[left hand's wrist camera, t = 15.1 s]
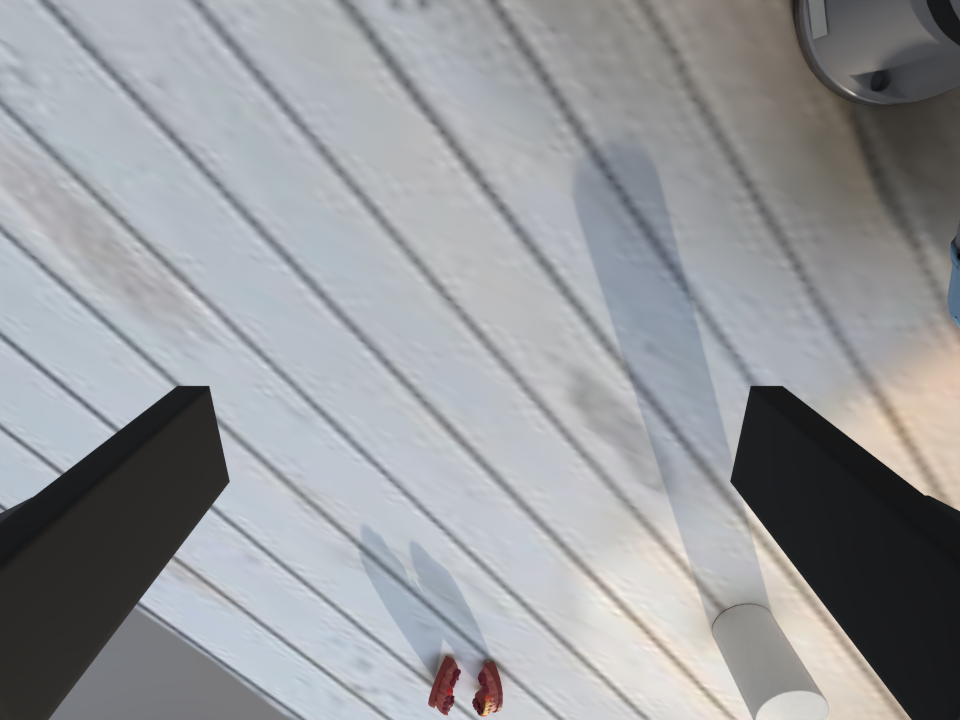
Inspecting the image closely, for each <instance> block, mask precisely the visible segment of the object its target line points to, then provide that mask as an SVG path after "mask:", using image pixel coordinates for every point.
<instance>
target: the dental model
mask: <svg viewBox="0 0 960 720" xmlns="http://www.w3.org/2000/svg"><path fill="white" fill-rule="evenodd" d="M460 673H461V670H460V669H458V667H457V664H456V663H455V661H454V659H452V658H450V657H448V656H446V657H445V659H444V661H443V663H442V665H441V667H440V670H439V672H438V674H437V677H436V679H435V682H434V684H433V687H432V690H431V693H430V697H429V702H428V704H429V706H431V707H433V708H434V707H435V705H436V706H437V708H438V710H439V711H440V712H441V713H443V714H444V715H448V712H449V710H450V707H452V706H453V704H454V698H455V697H454V696H452V695H453V689H452V688H454V686H455V684H456V680H457V681H458V680H459V678H458V677H459V674H460ZM478 680H479V683H480V685H481V686H483V687H482V688H481V689H480V690H479V691H478V692H477V693H476V694H475V698H474V699H473V701H472V704H473V707H474V709H475V710H477V713H478V715H480V716H486V715H487V714H489V713H491V712H494V713H495V712H498V711H499V710H501V708H502V703H503V693H502V686H501V681H500V677H499V674H498V671H497V668H496V666H495V663H494V662H491V663H487V664H486V665H484V667H483V669H482V670H481V672H480V673H479V676H478Z"/></svg>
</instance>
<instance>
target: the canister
mask: <svg viewBox="0 0 960 720" xmlns="http://www.w3.org/2000/svg"><path fill="white" fill-rule="evenodd" d="M712 634H713V637H714V639H715V641H716V643H717V645H718V648H719V650H720V652H721V654H722V656H723V658H724V660H725V662H726V664H727V666H728V668H729V670H730V672H731V674H732V677H733V679H734V681H735V683H736V685H737V687H738V689H739V691H740V693H741V695H742V697H743V699H744V701H745V703H746V706H747V708H748V710H749V712H750V714H751V716H752V718H753V720H826V718H827V716H828V713H829V706H828V703H827V701H826V699H825V698H824V696H823V694H822V693H821V691H820V690H819V688H818V687H817V685H816V683H815V682H814V680H813V679H812V677H811V676H810V674H809V672H808V671H807V669H806V668H805V666H804V664H803V663H802V661H801V660H800V658H799V657H798V655H797V653H796V652H795V650H794V649H793V647H792V645H791V644H790V642H789V641H788V639H787V638H786V636H785V634H784V633H783V631H782V630H781V628H780V627H779V625H778V623H777V622H776V620H775V619H774V617H773V615H772V614H771V613H770V612H769V611H768V610H767V609H766V608H764V607H762V606H759V605H754V604H743V605H738V606H734V607H732V608H730V609H728V610H726V611H724V612H723V613H722V614H720V615H719V616H718V618H717V619H716V620H715V622H714V624H713V628H712Z"/></svg>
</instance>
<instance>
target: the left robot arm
mask: <svg viewBox="0 0 960 720" xmlns="http://www.w3.org/2000/svg"><path fill="white" fill-rule="evenodd" d="M795 24H796V31H797V36H798V40H799V44H800V47H801V50H802V52H803V55H804V57H805V60H806V61H807V63H808V65H809V67H810V69H811V70H812V71H813V73H814V74H815V76H816V77H817V78H818V79H819V80H820V81H821V82H822V83H823V84H824V85H825V86H826V87H827V88H828V89H830V90H831V91H832V92H834V93H836V94H837V95H839V96H841V97H843V98H845V99H847V100H850V101H853V102H856V103H860V104H865V105H875V106H883V105H895V104H903V103H910V102H916V101H920V100H924V99H927V98H930V97H933V96H936V95H939V94H942V93H944V92H947V91H949V90H952V89H954V88H956V87H958V86H960V0H795ZM950 257H951V261H952V262H953V264H952V271H951V278H950V285H949V292H948V302H947V303H948V310H949V313H950V316H951V318H952V320H953V321H954V322H955V323H956V324H957V326H958V327H959V328H960V222H959V226H958V231H957V235H956V237H955V238H954V240H953V241H952V242H951V246H950ZM229 482H230V481H229V476H228V472H227V467H226V462H225V458H224V453H223V448H222V444H221V439H220V434H219V430H218V425H217V420H216V416H215V411H214V406H213V402H212V397H211V392H210V388H209V386H177V387H176V388H174V389H173V390H172V391H170V392H169V393H168V394H167V395H165V396H164V397H163V398H161V399H160V400H159V401H157V402H156V403H155V404H154V405H152V406H151V407H150V408H148V409H147V410H146V411H144V412H143V413H142V414H141V415H139V416H138V417H137V418H135V419H134V420H133V421H131V422H130V423H129V424H128V425H126V426H125V427H124V428H122V429H121V430H120V431H118V432H117V433H116V434H115V435H113V436H112V437H111V438H109V439H108V440H107V441H105V442H104V443H103V444H102V445H100V446H99V447H98V448H96V449H95V450H94V451H92V452H91V453H90V454H89V455H87V456H86V457H85V458H83V459H82V460H81V461H80V462H78V463H77V464H76V465H74V466H73V467H72V468H70V469H69V470H68V471H67V472H65V473H64V474H63V475H61V476H60V477H59V478H57V479H56V480H55V481H54V482H52V483H51V484H50V485H48V486H47V487H46V488H44V489H43V490H42V491H41V492H39V493H38V494H37V495H35V496H34V497H32V498H30V499H28V500H26V501H24V502H22V503H20V504H18V505H16V506H14V507H12V508H10V509H8V510H6V511H4V512H2V513H0V720H48V719H49V718H50V717H51V715H52V714H53V713H54V712H55V710H56V709H57V708H58V706H59V705H60V704H61V702H62V701H63V700H64V698H65V697H66V696H67V694H68V693H69V692H70V690H71V689H72V688H73V687H74V685H75V684H76V683H77V681H78V680H79V679H80V677H81V676H82V675H83V673H84V672H85V671H86V669H87V668H88V667H89V666H90V664H91V663H92V662H93V660H94V659H95V658H96V656H97V655H98V654H99V652H100V651H101V650H102V649H103V647H104V646H105V645H106V643H107V642H108V641H109V639H110V638H111V637H112V635H113V634H114V633H115V631H116V630H117V629H118V627H119V626H120V625H121V624H122V622H123V621H124V620H125V618H126V617H127V616H128V614H129V613H130V612H131V610H132V609H133V608H134V607H135V605H136V604H137V603H138V601H139V600H140V599H141V597H142V596H143V595H144V593H145V592H146V591H147V589H148V588H149V587H150V586H151V584H152V583H153V582H154V580H155V579H156V578H157V576H158V575H159V574H160V572H161V571H162V570H163V568H164V567H165V566H166V565H167V563H168V562H169V561H170V559H171V558H172V557H173V555H174V554H175V553H176V551H177V550H178V549H179V547H180V546H181V545H182V544H183V542H184V541H185V540H186V538H187V537H188V536H189V534H190V533H191V532H192V530H193V529H194V528H195V527H196V525H197V524H198V523H199V521H200V520H201V519H202V517H203V516H204V515H205V513H206V512H207V511H208V509H209V508H210V507H211V506H212V504H213V503H214V502H215V500H216V499H217V498H218V496H219V495H220V494H221V492H222V491H223V490H224V488H225V487H226V486H227V485H228V483H229ZM730 482H731V483H732V485H733V486H734V487H735V488H736V490H737V491H738V492H739V494H740V495H741V496H742V498H743V499H744V500H745V502H746V503H747V504H748V506H749V507H750V508H751V509H752V511H753V512H754V513H755V515H756V516H757V517H758V519H759V520H760V521H761V523H762V524H763V525H764V527H765V528H766V529H767V530H768V532H769V533H770V534H771V536H772V537H773V538H774V540H775V541H776V542H777V544H778V545H779V546H780V547H781V549H782V550H783V551H784V553H785V554H786V555H787V557H788V558H789V559H790V561H791V562H792V563H793V565H794V566H795V567H796V568H797V570H798V571H799V572H800V574H801V575H802V576H803V578H804V579H805V580H806V582H807V583H808V584H809V586H810V587H811V588H812V589H813V591H814V592H815V593H816V595H817V596H818V597H819V599H820V600H821V601H822V603H823V604H824V605H825V607H826V608H827V609H828V610H829V612H830V613H831V614H832V616H833V617H834V618H835V620H836V621H837V622H838V624H839V625H840V626H841V628H842V629H843V630H844V631H845V633H846V634H847V635H848V637H849V638H850V639H851V641H852V642H853V643H854V645H855V646H856V647H857V649H858V650H859V651H860V652H861V654H862V655H863V656H864V658H865V659H866V660H867V662H868V663H869V664H870V666H871V667H872V668H873V670H874V671H875V672H876V673H877V675H878V676H879V677H880V679H881V680H882V681H883V683H884V684H885V685H886V687H887V688H888V689H889V691H890V692H891V693H892V694H893V696H894V697H895V698H896V700H897V701H898V702H899V704H900V705H901V706H902V708H903V709H904V710H905V712H906V713H907V714H908V715H909V717H910V718H911V719H912V720H960V511H958V510H956V509H954V508H952V507H950V506H948V505H946V504H944V503H943V502H941V501H939V500H937V499H935V498H933V497H931V496H925V495H923V494H922V493H921V492H919V491H918V490H917V489H916V488H914V487H913V486H912V485H910V484H909V483H908V482H906V481H905V480H904V479H903V478H901V477H900V476H899V475H897V474H896V473H895V472H893V471H892V470H891V469H890V468H888V467H887V466H886V465H884V464H883V463H882V462H880V461H879V460H878V459H877V458H875V457H874V456H873V455H871V454H870V453H869V452H868V451H866V450H865V449H864V448H862V447H861V446H860V445H858V444H857V443H856V442H855V441H853V440H852V439H851V438H849V437H848V436H847V435H845V434H844V433H843V432H842V431H840V430H839V429H838V428H836V427H835V426H834V425H832V424H831V423H830V422H829V421H827V420H826V419H825V418H823V417H822V416H821V415H819V414H818V413H817V412H816V411H814V410H813V409H812V408H810V407H809V406H808V405H806V404H805V403H804V402H803V401H801V400H800V399H799V398H797V397H796V396H795V395H793V394H792V393H791V392H790V391H788V390H787V389H786V388H784V387H783V386H751V388H750V392H749V397H748V402H747V406H746V411H745V416H744V420H743V425H742V430H741V434H740V439H739V444H738V448H737V453H736V458H735V462H734V467H733V472H732V476H731V481H730Z"/></svg>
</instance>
